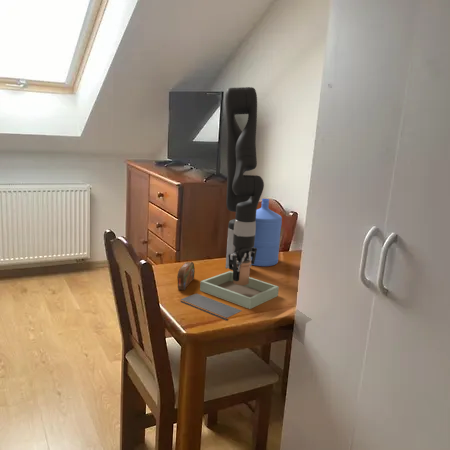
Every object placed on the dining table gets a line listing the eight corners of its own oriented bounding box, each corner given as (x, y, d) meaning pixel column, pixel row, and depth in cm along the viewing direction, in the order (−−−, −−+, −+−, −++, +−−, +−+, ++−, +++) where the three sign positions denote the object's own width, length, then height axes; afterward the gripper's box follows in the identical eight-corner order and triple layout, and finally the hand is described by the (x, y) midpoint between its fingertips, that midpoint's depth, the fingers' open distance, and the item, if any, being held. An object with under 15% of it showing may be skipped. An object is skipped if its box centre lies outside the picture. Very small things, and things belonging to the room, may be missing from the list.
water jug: (268, 269, 202) (274, 204, 196) (236, 261, 210) (240, 198, 203) (283, 261, 215) (289, 199, 209) (252, 253, 223) (257, 194, 216)
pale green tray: (229, 281, 185) (230, 270, 183) (277, 298, 171) (278, 286, 170) (199, 293, 171) (200, 281, 170) (249, 311, 158) (250, 299, 157)
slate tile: (196, 296, 169) (196, 293, 168) (241, 313, 157) (242, 310, 156) (180, 302, 162) (180, 299, 162) (226, 320, 150) (226, 317, 150)
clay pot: (239, 277, 175) (240, 256, 173) (252, 282, 171) (254, 261, 169) (228, 282, 170) (230, 260, 168) (242, 287, 166) (244, 265, 164)
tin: (183, 294, 169) (184, 271, 167) (175, 293, 170) (176, 270, 168) (194, 280, 184) (196, 259, 182) (187, 279, 184) (188, 258, 182)
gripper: (247, 227, 174) (244, 271, 178) (223, 233, 163) (220, 280, 167) (265, 231, 169) (261, 276, 174) (240, 238, 158) (237, 286, 163)
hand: (241, 278), depth 170 cm, fingers closed on clay pot, 5 cm apart
